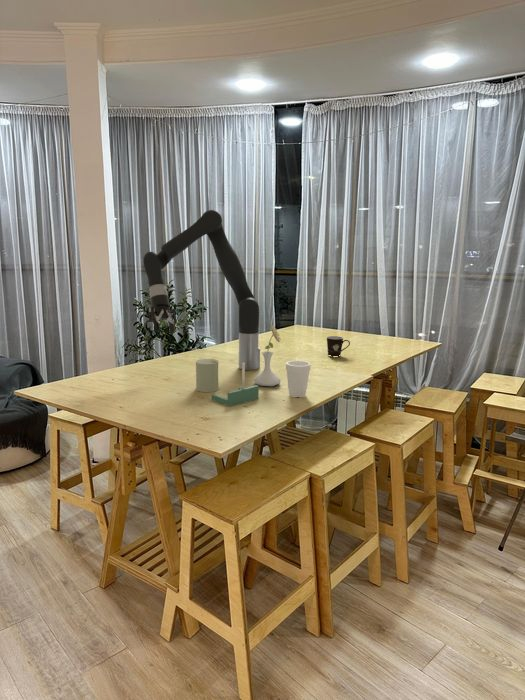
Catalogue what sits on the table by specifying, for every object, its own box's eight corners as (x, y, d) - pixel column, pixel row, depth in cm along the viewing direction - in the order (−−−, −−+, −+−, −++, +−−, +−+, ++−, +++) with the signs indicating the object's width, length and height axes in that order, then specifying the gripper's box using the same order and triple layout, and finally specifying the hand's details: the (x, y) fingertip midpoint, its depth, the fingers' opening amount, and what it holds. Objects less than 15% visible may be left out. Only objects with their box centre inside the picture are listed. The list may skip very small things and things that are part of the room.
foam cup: (293, 400, 189) (293, 367, 186) (280, 393, 197) (281, 362, 194) (314, 397, 193) (315, 364, 190) (301, 390, 201) (302, 359, 198)
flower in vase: (271, 390, 201) (272, 329, 196) (248, 385, 207) (248, 326, 202) (287, 382, 212) (288, 324, 207) (264, 378, 218) (265, 322, 213)
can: (214, 393, 197) (214, 363, 194) (192, 391, 198) (192, 362, 196) (221, 386, 205) (221, 358, 203) (200, 385, 207) (199, 356, 205)
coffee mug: (324, 357, 260) (324, 338, 258) (328, 353, 268) (329, 335, 266) (346, 359, 256) (347, 340, 254) (349, 355, 264) (350, 337, 261)
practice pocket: (211, 399, 188) (211, 361, 185) (240, 392, 198) (240, 355, 195) (229, 406, 181) (229, 366, 178) (258, 398, 191) (258, 360, 187)
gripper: (153, 291, 208) (159, 328, 205) (176, 296, 220) (183, 331, 217) (140, 297, 212) (146, 333, 209) (165, 302, 224) (170, 336, 221)
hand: (165, 332), depth 213 cm, fingers open, 8 cm apart
